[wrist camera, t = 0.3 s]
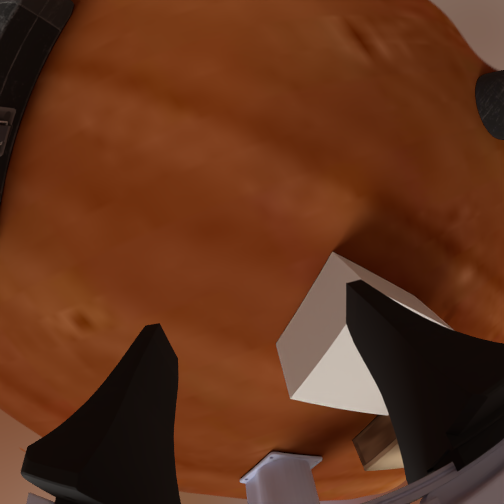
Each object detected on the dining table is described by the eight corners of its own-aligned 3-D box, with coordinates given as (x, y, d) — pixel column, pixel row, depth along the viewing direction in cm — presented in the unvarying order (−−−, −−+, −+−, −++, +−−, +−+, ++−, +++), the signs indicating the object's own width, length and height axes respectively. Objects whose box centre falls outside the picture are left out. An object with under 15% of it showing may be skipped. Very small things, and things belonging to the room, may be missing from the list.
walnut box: (405, 441, 32) (416, 461, 28) (352, 440, 30) (363, 466, 26) (448, 396, 30) (463, 416, 26) (402, 388, 27) (419, 414, 23)
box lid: (416, 462, 28) (422, 472, 26) (363, 466, 25) (368, 480, 23) (464, 416, 26) (471, 427, 23) (420, 414, 23) (429, 428, 21)
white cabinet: (361, 370, 26) (387, 415, 19) (275, 343, 23) (290, 398, 17) (414, 295, 23) (455, 331, 17) (332, 251, 21) (369, 287, 15)
